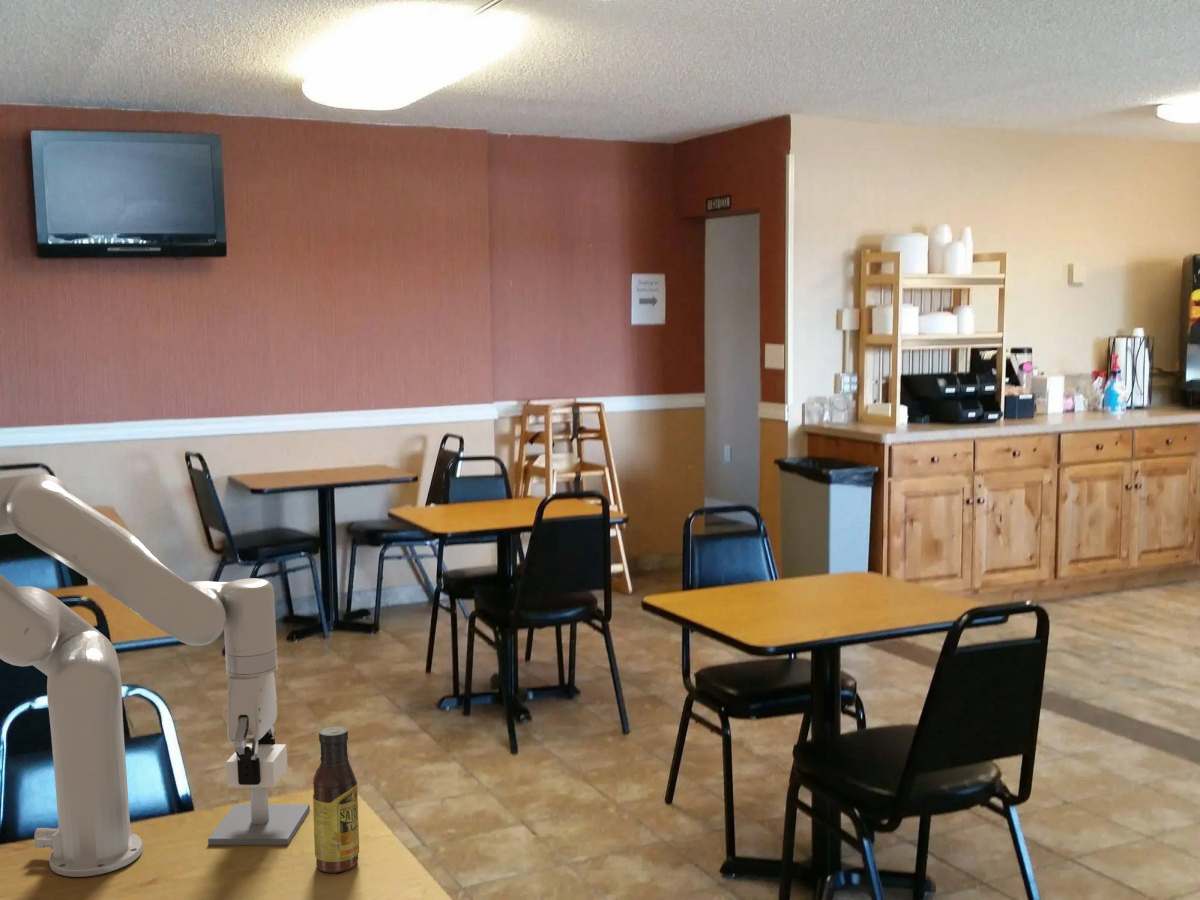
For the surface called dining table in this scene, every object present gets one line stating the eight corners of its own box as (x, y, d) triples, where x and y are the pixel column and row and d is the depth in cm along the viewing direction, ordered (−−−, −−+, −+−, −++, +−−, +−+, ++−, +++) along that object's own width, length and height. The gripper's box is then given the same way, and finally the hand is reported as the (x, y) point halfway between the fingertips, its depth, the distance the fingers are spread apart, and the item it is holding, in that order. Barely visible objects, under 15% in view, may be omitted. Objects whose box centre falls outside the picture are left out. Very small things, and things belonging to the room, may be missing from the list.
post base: (208, 845, 177) (205, 800, 176) (235, 810, 188) (232, 768, 188) (288, 845, 176) (285, 800, 175) (309, 810, 188) (307, 768, 187)
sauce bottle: (349, 877, 166) (343, 741, 164) (307, 873, 167) (301, 738, 165) (367, 855, 173) (362, 724, 170) (327, 852, 174) (321, 722, 171)
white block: (227, 787, 178) (226, 761, 177) (243, 768, 185) (241, 744, 184) (274, 787, 178) (272, 761, 177) (287, 768, 185) (286, 744, 184)
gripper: (245, 644, 188) (251, 752, 190) (206, 679, 170) (213, 797, 173) (292, 644, 187) (297, 751, 190) (258, 679, 170) (264, 797, 173)
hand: (257, 772), depth 181 cm, fingers closed on white block, 7 cm apart
